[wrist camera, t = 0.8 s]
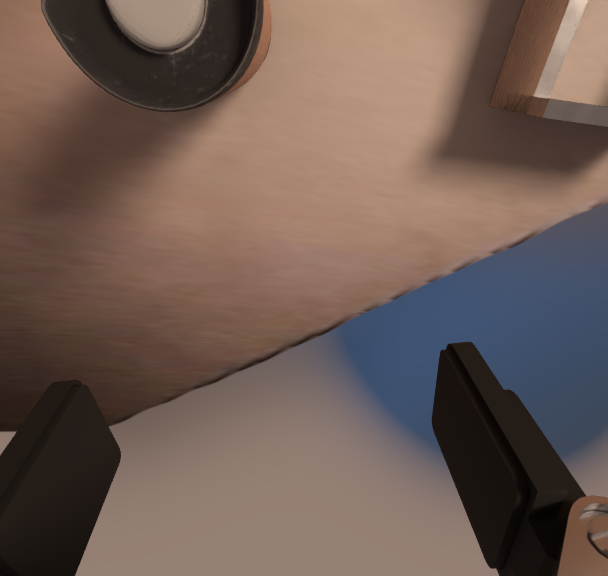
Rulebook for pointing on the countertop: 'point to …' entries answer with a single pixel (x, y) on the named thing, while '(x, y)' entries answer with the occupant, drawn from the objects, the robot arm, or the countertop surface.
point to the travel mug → (163, 46)
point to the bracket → (543, 63)
